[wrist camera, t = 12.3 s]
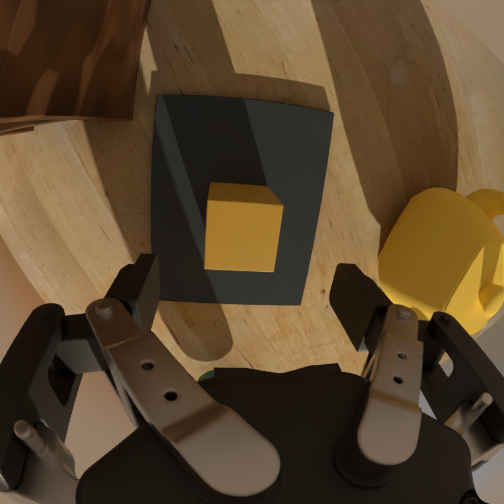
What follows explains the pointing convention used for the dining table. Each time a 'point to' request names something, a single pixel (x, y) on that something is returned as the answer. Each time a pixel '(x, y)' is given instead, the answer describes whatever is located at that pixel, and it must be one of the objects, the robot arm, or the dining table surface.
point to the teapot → (447, 256)
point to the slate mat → (237, 172)
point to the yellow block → (242, 227)
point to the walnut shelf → (68, 60)
